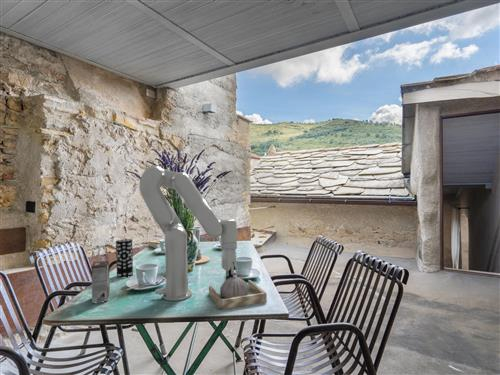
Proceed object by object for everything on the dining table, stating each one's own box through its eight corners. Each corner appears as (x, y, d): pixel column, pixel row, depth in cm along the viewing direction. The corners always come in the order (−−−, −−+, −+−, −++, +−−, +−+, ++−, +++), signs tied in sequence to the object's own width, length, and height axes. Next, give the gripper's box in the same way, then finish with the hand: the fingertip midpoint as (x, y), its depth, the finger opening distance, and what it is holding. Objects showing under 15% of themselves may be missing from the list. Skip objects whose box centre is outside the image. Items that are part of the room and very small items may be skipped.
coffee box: (94, 297, 132) (93, 261, 132) (110, 294, 135) (109, 260, 135) (91, 304, 124) (90, 266, 124) (108, 301, 126) (107, 264, 126)
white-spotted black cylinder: (132, 276, 162) (132, 241, 162) (116, 278, 158) (115, 242, 158) (133, 272, 169) (132, 238, 169) (117, 274, 166) (116, 239, 166)
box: (219, 309, 115) (219, 300, 115) (209, 293, 133) (208, 285, 133) (266, 301, 122) (266, 293, 122) (250, 287, 140) (250, 279, 140)
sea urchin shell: (213, 298, 127) (213, 280, 127) (230, 288, 139) (230, 271, 139) (239, 303, 121) (239, 284, 121) (255, 292, 133) (254, 275, 133)
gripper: (217, 243, 143) (218, 280, 143) (225, 249, 129) (226, 290, 129) (231, 242, 146) (232, 278, 146) (241, 247, 132) (242, 287, 132)
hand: (230, 284), depth 137 cm, fingers closed
